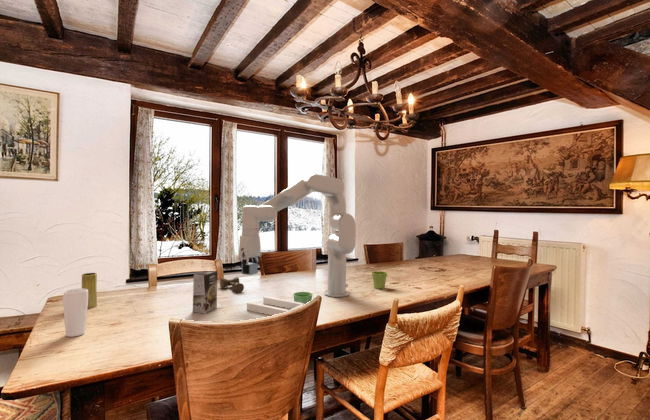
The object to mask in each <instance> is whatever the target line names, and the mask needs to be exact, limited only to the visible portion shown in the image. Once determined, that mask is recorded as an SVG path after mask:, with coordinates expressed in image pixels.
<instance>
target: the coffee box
mask: <svg viewBox="0 0 650 420" xmlns="http://www.w3.org/2000/svg"><path fill="white" fill-rule="evenodd" d="M192 282H193V284H192V288H193V289H192V313H199V314H207V313H208V312H211V311H212V310H215V309H216V308H218V307H217V306H218V304H217V303H218V271H217V270H204V271H200V272H198V273H194V274H193V281H192Z"/></svg>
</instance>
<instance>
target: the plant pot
mask: <svg viewBox="0 0 650 420" xmlns="http://www.w3.org/2000/svg"><path fill="white" fill-rule="evenodd" d="M370 274H371V276H372V282H373V283H372V284H373V289H377V290H379V289H382V290H383V288H384V289H385V288H386V281H387V277H388V274H389V273H388V272H386V271H383V270H382V271H381V270H378V271H377V270H376V271H375V270H374V271H371V272H370Z"/></svg>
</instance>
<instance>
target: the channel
mask: <svg viewBox="0 0 650 420" xmlns="http://www.w3.org/2000/svg"><path fill="white" fill-rule="evenodd" d="M262 299H263V302H262V303H258V302H253V301H248V302H246V310H247V311H250V312H254V313H259V314H263V313H264V315H268V314H269V315H268V316H272V315H274V314H279V313H283V312H286V311H289V310H292V309H294V308H297V307H300V306H302V305H304V304H305V303H300V302H294V300H289V299H283V298H277V297H272V296H266V295H265V296H264V297H262ZM273 305H275V306H273ZM277 306H280V307H277ZM282 307H285V308H282ZM287 308H289V309H287Z"/></svg>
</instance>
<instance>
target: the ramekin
mask: <svg viewBox="0 0 650 420" xmlns="http://www.w3.org/2000/svg"><path fill="white" fill-rule="evenodd" d="M292 295H293V301H294V302H300V303H305V304H306V303H307V302H309V301H311V300H313V299H312V298H313V293H312V292H309V291H298V292H297V291H296V292H294V293H293V294H292ZM311 302H312V301H311Z"/></svg>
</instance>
